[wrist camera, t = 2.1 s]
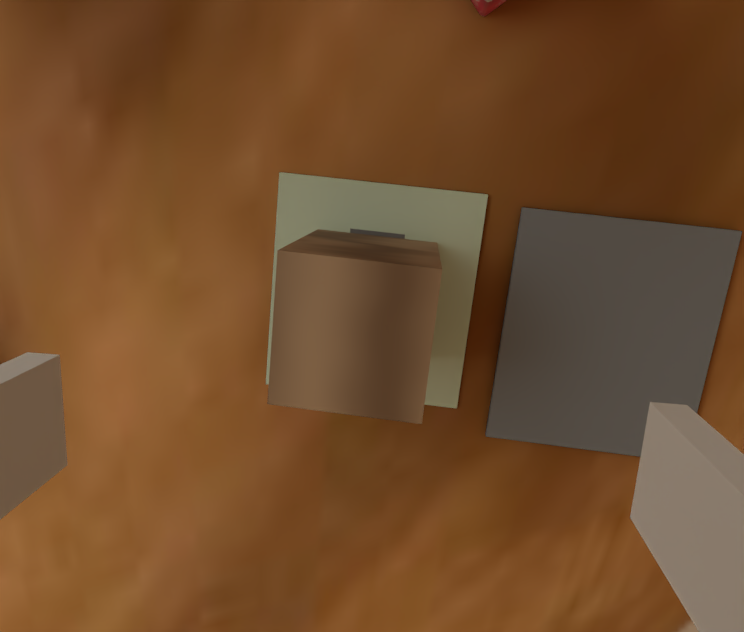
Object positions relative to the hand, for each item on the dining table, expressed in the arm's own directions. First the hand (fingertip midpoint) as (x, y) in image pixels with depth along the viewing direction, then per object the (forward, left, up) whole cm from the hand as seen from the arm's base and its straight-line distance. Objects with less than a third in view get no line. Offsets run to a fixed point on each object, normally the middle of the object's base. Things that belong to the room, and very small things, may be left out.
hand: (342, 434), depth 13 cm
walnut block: (-1, -1, -23) cm, 23 cm away
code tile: (-1, -1, -23) cm, 23 cm away
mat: (+13, -2, -23) cm, 26 cm away
